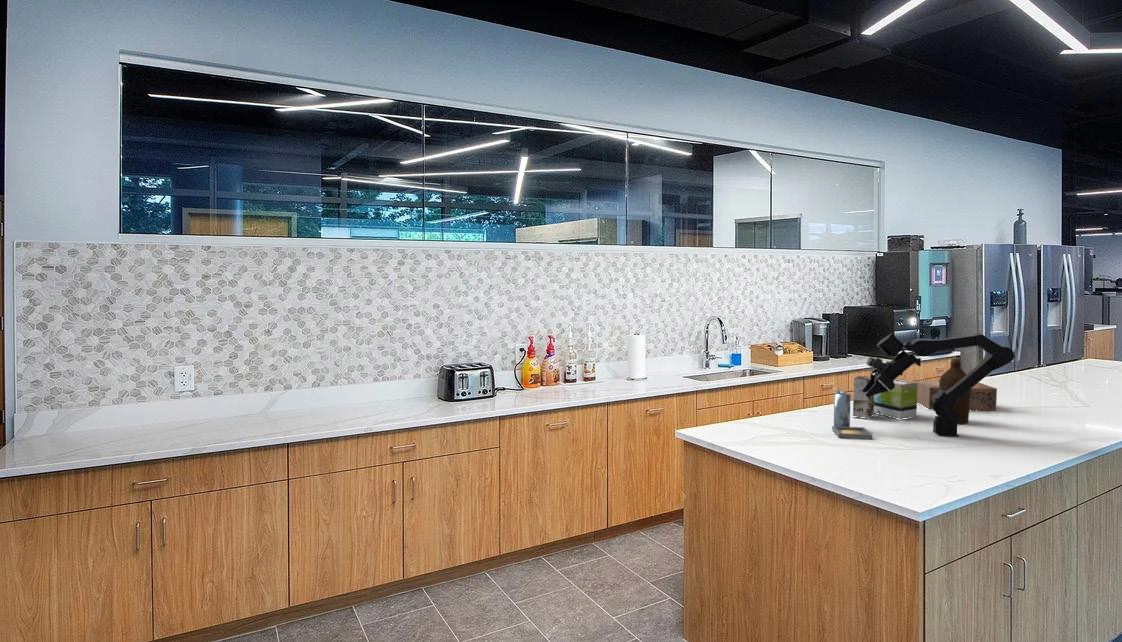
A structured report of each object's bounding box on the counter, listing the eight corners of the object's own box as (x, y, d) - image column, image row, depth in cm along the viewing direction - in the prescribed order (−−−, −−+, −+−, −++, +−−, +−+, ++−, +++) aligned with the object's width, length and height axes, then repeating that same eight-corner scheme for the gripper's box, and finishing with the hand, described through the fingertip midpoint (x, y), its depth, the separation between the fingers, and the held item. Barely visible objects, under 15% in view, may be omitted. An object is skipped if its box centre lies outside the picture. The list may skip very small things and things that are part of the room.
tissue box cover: (979, 405, 271) (980, 382, 271) (996, 412, 257) (996, 388, 257) (915, 403, 276) (916, 381, 276) (928, 410, 262) (929, 387, 261)
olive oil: (964, 426, 233) (966, 360, 232) (933, 421, 241) (935, 358, 240) (974, 421, 240) (976, 358, 238) (943, 417, 248) (945, 355, 246)
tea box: (867, 413, 257) (868, 378, 256) (884, 410, 262) (884, 376, 261) (900, 420, 244) (901, 383, 243) (917, 417, 248) (918, 381, 247)
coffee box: (869, 419, 246) (870, 379, 245) (852, 417, 250) (853, 378, 248) (874, 415, 253) (875, 376, 252) (857, 413, 257) (858, 375, 256)
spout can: (847, 426, 235) (848, 386, 234) (851, 429, 230) (852, 388, 229) (832, 425, 236) (832, 385, 235) (835, 429, 231) (836, 388, 230)
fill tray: (863, 431, 227) (863, 427, 227) (872, 439, 216) (872, 434, 216) (831, 430, 229) (832, 426, 229) (838, 438, 218) (838, 433, 218)
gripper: (877, 346, 235) (845, 374, 240) (885, 352, 218) (850, 382, 222) (900, 367, 233) (867, 395, 238) (909, 375, 216) (874, 404, 220)
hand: (864, 393), depth 230 cm, fingers open, 9 cm apart
